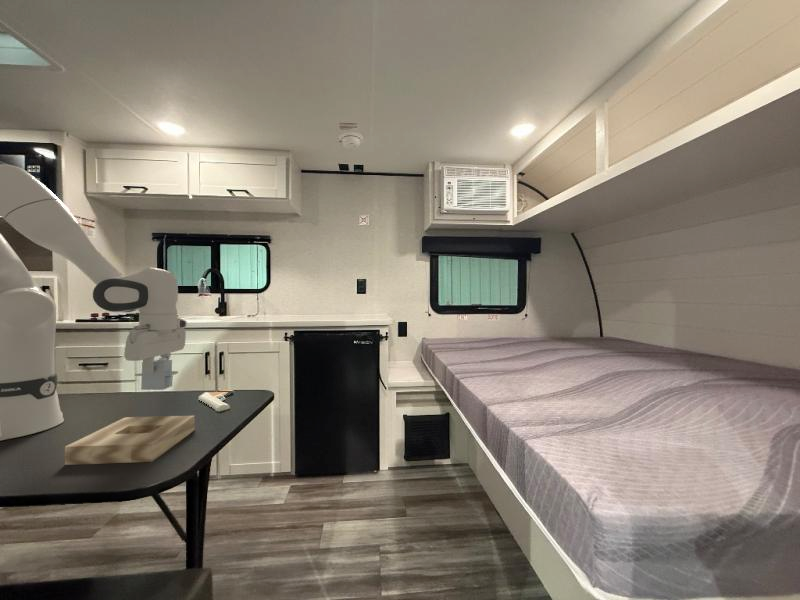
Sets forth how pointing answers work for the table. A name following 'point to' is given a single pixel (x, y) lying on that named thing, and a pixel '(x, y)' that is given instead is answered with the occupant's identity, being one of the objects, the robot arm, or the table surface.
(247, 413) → the table surface
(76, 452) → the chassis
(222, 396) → the pistol
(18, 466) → the table surface
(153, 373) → the block
